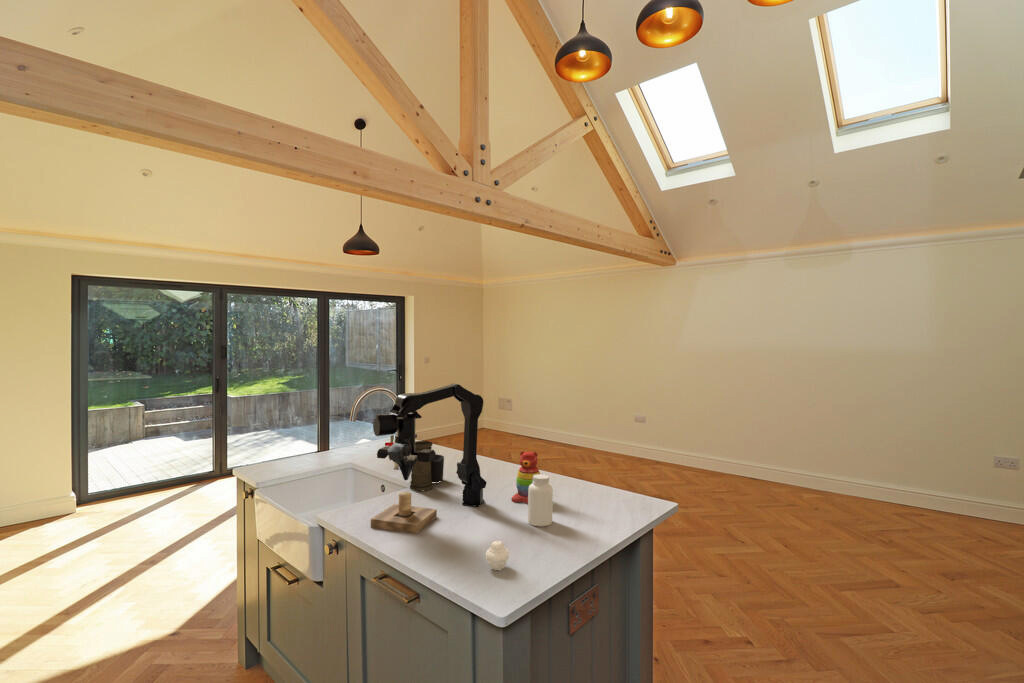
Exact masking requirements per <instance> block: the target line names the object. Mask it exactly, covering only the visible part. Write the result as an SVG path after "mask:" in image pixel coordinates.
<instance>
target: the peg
mask: <svg viewBox="0 0 1024 683" xmlns="http://www.w3.org/2000/svg"><path fill="white" fill-rule="evenodd" d="M398 505H399V508H398V517H405V518H409V517H410V516H411V506H412V492H411V491H410V492H409V491H401V492H399V493H398Z"/></svg>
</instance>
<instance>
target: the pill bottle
mask: <svg viewBox="0 0 1024 683" xmlns="http://www.w3.org/2000/svg"><path fill="white" fill-rule="evenodd" d="M532 482H533V483H532V484H531V485H530V486H529V488H528V503H527V521H528V523H529V525H531V526H533V527H534V526H535V527H548V526H550V525H552V523H553V502H554V500H553V499H554V498H553V497H554V496H553V494H554V493H553V492H554V490H553V487H552V485H551V484H549V483H550V476H549V475H547V474H543V473H542V474H541V473H540V474H537V475H534V476H533V481H532Z"/></svg>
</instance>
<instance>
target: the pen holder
mask: <svg viewBox="0 0 1024 683" xmlns="http://www.w3.org/2000/svg"><path fill="white" fill-rule="evenodd" d="M444 463H445V456H444V455H441V454H436V458H435V459H433V460H431V474H432V475H431V480H432V482H439V481H443V479H444V466H445V464H444Z"/></svg>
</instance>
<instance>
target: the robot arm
mask: <svg viewBox="0 0 1024 683" xmlns="http://www.w3.org/2000/svg"><path fill="white" fill-rule="evenodd" d="M448 398H454V399H455V400H457V401H458V402H460V407H461V408H460V409H461V412H462V415H463V418H464V425H463V426H464V428H463V447H462V448H463V449H462V450H463V453H462V459H461V461H460V462H456V467H457V468H456V472H455V473H456V474H457V478H458V479H459V480H460V481H461V484H462V485H464V486H463V490H462V503H461V505H462V506H469V507H477V508H478V507H480V506H481V505H482V504H483V503H484V502H485V499H484V489H485V488H486V487H487V483H488V482H487V481H486V479H484V478H483V477H482V476H481V468H480V467H481V466H480V464H479V462H478V458H477V455H478V454H477V452H478V433H479V432H478V429H479V418H480V416H481V414H482V413H483V408H484V403H485V402H484V398H483V397H482V395H479V394H477V393H476V394H475V393H473V392H472V391H470V390H468V389H467V388H465V387H463V386H462V385H461V384H458V383H451V384H450V383H449V385H444V386H441V387H438V388H435V389H434V388H433V389H430V390H426V391H422V392H411V393H407V392H406V393H401V394H399V395H397V397H396V399H395V402H394V404H393V405H392V407H391V409H390V410H389V412H388V413H384V414H382V413H381V414H380V413H378V414H377V413H376V414H375V419H374V420H373V424H372V425H373V426H372V429H373V434H374V436H375V437H382V436H389V435H395V434H396V433H397V436H395V439H394V442H393V444H392V445H391V446H388V445H387V446H383V447H381V448H379V449H378V450H377V452H376V458H377V459H384V460H385V459H387V457H388V460H389V461H392V462H393V463H395V464H396V465H398V467H399V469H400V472H401V475H402V478H403V480H404V481H408V480H409V478H410V477H411V474H412V469H413V466H414V465H415V463H416V461H420V462H429V461H431V460H433V459H435V458H436V455H437V453H436V451H435V450H434V449H431V450H430V449H424V450H422V451H420V452H416V451H415V450H417V447H415V442H416V439H417V438H418V434H416V419H417V420H418V419H422V415H420V414H419V413H418V411H419V410H421V409H422V408H424V406H426V405H428V404H433V403H436V402H439V401H442V400H445V399H448Z"/></svg>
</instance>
